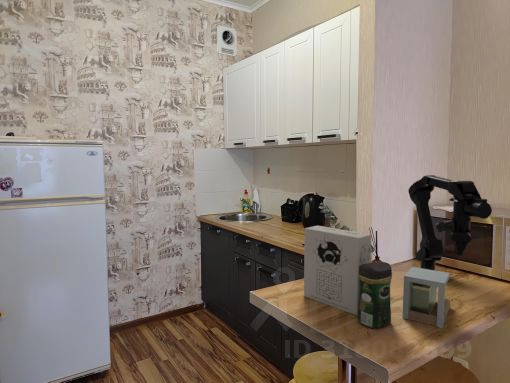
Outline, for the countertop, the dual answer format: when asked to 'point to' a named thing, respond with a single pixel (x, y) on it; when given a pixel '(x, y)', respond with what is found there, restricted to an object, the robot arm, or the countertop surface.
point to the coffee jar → (375, 294)
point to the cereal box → (335, 266)
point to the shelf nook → (430, 279)
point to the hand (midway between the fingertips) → (459, 255)
